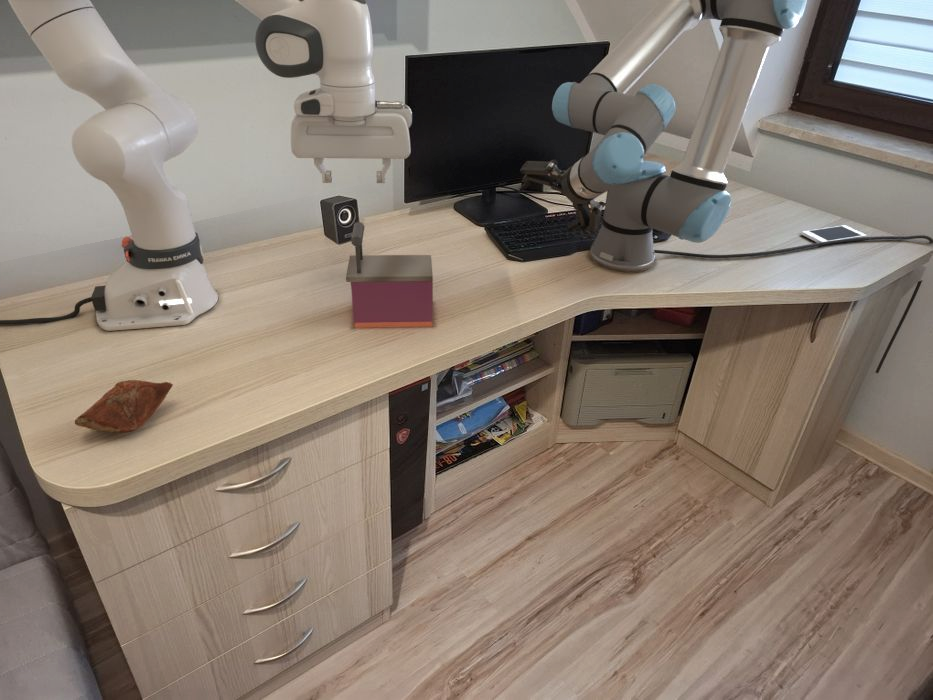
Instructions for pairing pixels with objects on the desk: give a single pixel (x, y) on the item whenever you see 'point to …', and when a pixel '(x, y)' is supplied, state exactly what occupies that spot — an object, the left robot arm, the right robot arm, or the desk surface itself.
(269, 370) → the desk surface
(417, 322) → the chest
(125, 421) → the fossil
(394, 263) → the lid
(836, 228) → the smartphone
